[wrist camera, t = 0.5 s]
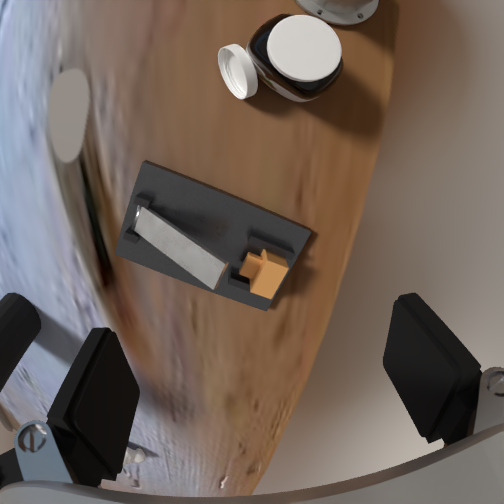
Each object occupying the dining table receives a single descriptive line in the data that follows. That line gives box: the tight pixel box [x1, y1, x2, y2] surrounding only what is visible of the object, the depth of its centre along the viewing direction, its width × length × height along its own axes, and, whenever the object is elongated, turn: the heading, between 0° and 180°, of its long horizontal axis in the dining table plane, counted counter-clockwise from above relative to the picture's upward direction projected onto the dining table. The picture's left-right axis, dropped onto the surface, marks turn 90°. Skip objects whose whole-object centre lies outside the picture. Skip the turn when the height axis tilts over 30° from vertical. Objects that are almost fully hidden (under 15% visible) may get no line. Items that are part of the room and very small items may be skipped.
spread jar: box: [218, 14, 343, 102], centre depth 28 cm, size 12×11×12 cm
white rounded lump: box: [123, 447, 146, 466], centre depth 62 cm, size 6×8×12 cm
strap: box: [132, 206, 229, 290], centre depth 37 cm, size 4×14×1 cm, turn 65°
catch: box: [239, 249, 289, 299], centre depth 41 cm, size 5×5×4 cm
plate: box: [115, 160, 311, 311], centre depth 41 cm, size 14×24×4 cm, turn 65°
